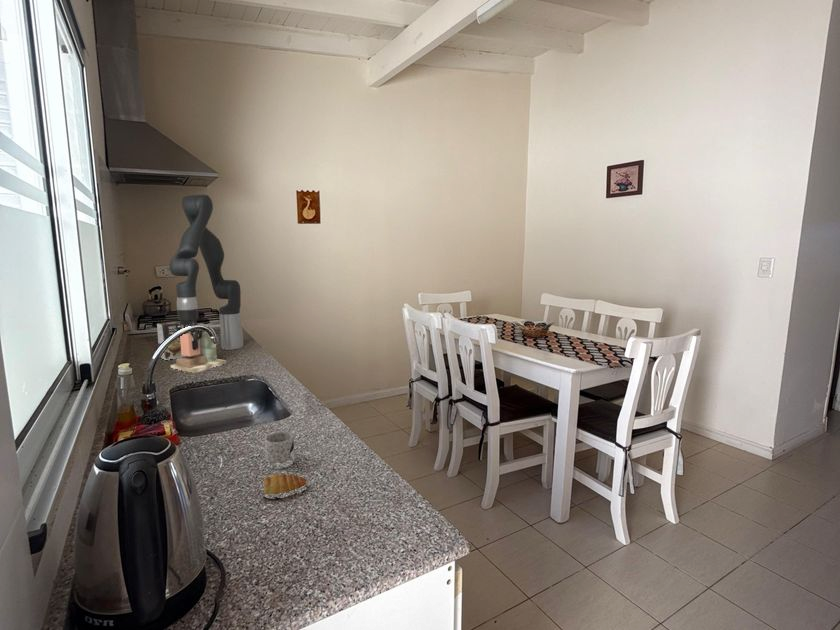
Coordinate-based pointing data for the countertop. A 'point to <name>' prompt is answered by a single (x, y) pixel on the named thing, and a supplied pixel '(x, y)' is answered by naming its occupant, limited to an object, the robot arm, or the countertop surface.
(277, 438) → the mug
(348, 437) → the countertop surface
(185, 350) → the brick block
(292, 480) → the pastry
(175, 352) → the coffee box
